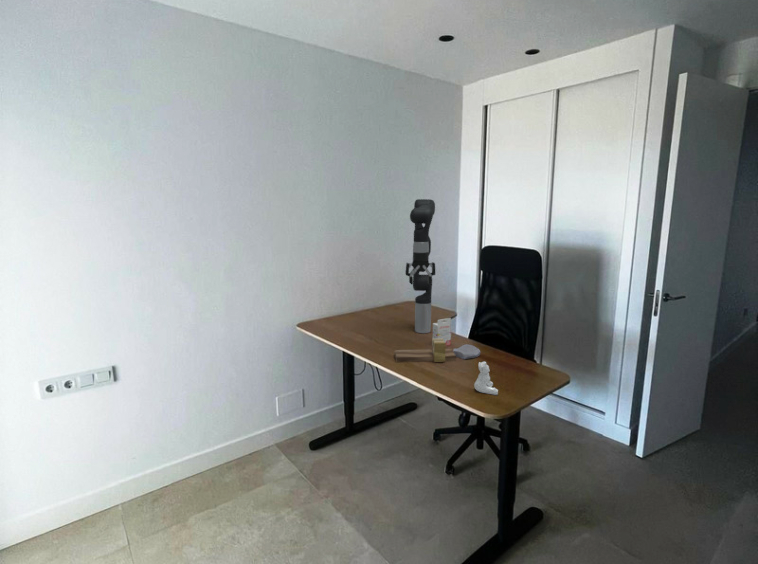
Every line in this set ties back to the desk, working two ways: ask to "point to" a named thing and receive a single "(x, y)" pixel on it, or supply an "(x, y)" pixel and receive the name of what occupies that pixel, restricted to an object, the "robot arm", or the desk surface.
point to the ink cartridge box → (442, 330)
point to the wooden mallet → (438, 350)
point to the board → (421, 355)
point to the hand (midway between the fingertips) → (420, 283)
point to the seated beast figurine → (484, 380)
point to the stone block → (466, 352)
